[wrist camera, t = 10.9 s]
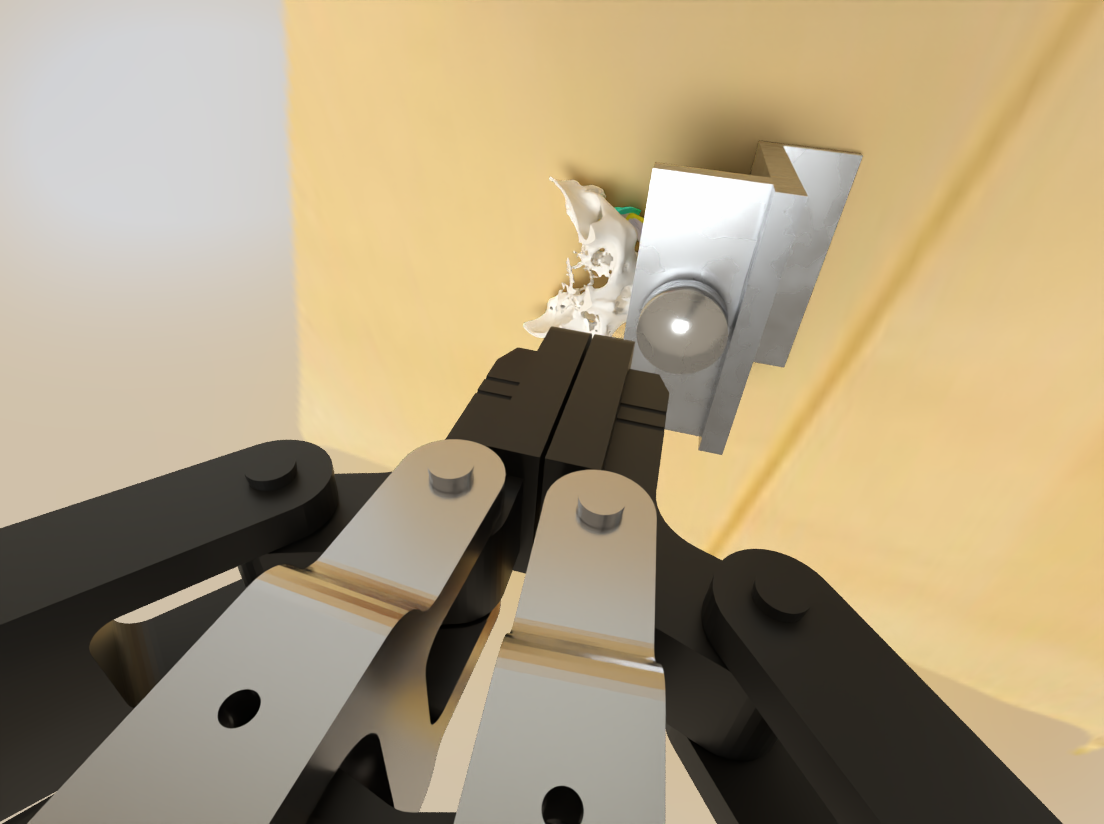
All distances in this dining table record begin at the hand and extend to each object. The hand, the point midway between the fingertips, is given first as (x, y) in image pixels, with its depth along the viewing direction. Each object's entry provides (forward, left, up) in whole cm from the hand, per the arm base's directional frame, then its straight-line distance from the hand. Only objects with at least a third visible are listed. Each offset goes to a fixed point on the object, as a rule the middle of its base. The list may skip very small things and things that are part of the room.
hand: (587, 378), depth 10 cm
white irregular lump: (+11, -3, -35) cm, 37 cm away
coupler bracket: (+9, +6, -35) cm, 37 cm away
